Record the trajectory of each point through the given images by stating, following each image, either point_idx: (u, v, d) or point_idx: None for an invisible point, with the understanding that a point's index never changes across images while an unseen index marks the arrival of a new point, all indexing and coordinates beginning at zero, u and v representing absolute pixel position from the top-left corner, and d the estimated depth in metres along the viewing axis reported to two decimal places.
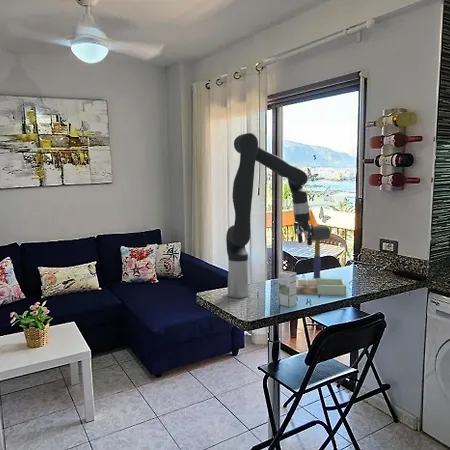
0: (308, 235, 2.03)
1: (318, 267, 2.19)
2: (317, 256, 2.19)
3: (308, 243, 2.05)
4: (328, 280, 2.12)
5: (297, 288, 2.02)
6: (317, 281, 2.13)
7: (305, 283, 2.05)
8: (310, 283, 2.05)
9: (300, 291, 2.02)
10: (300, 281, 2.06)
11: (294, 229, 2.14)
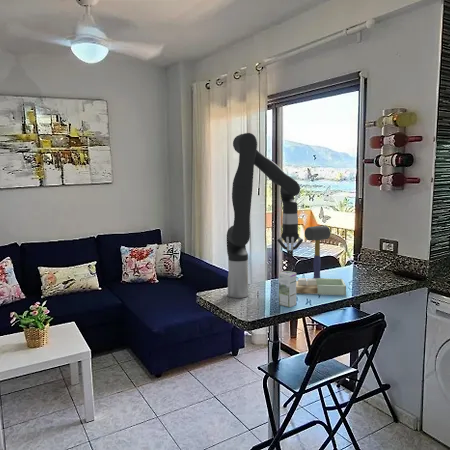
0: (294, 247, 2.05)
1: (318, 267, 2.19)
2: (317, 256, 2.19)
3: (291, 255, 2.06)
4: (328, 280, 2.12)
5: (297, 288, 2.02)
6: (317, 281, 2.13)
7: (305, 283, 2.05)
8: (310, 283, 2.05)
9: (300, 291, 2.02)
10: (300, 281, 2.06)
11: (281, 245, 2.06)
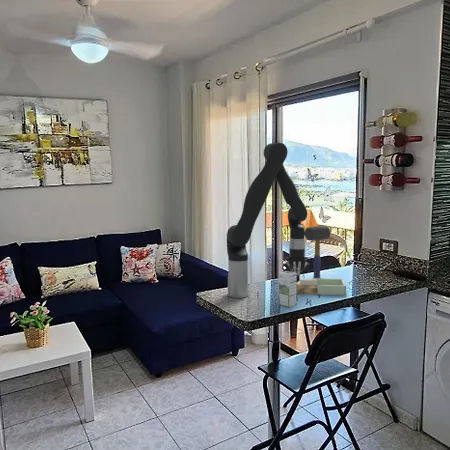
0: (301, 272, 2.06)
1: (318, 267, 2.19)
2: (317, 256, 2.19)
3: (298, 280, 2.07)
4: (328, 280, 2.12)
5: (297, 288, 2.02)
6: (317, 281, 2.13)
7: (307, 283, 2.05)
8: (311, 283, 2.05)
9: (300, 291, 2.02)
10: (302, 281, 2.05)
11: (288, 270, 2.07)
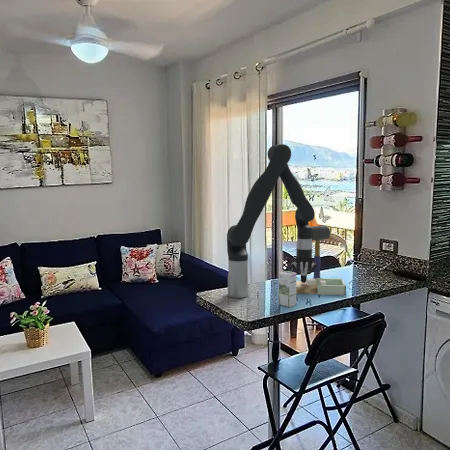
0: (308, 272, 2.05)
1: (318, 267, 2.19)
2: (317, 256, 2.19)
3: (305, 280, 2.06)
4: (328, 280, 2.12)
5: (297, 288, 2.02)
6: (317, 281, 2.13)
7: (314, 283, 2.05)
8: None
9: (300, 291, 2.02)
10: (309, 281, 2.05)
11: (295, 270, 2.06)
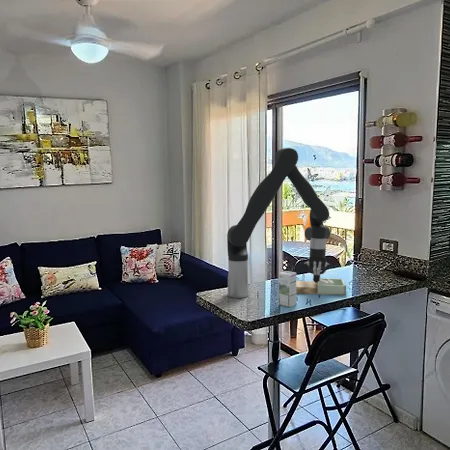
0: (321, 272, 2.05)
1: None
2: None
3: (317, 280, 2.06)
4: None
5: (297, 288, 2.02)
6: None
7: None
8: (329, 284, 2.04)
9: (300, 291, 2.02)
10: (321, 282, 2.04)
11: (308, 270, 2.05)
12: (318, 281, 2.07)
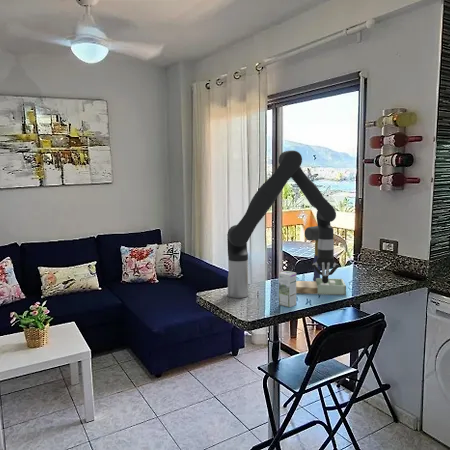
0: (330, 273, 2.04)
1: (318, 267, 2.19)
2: (317, 256, 2.19)
3: (326, 281, 2.05)
4: (328, 280, 2.12)
5: (297, 288, 2.02)
6: (317, 281, 2.13)
7: None
8: None
9: (300, 291, 2.02)
10: None
11: (317, 271, 2.05)
12: None
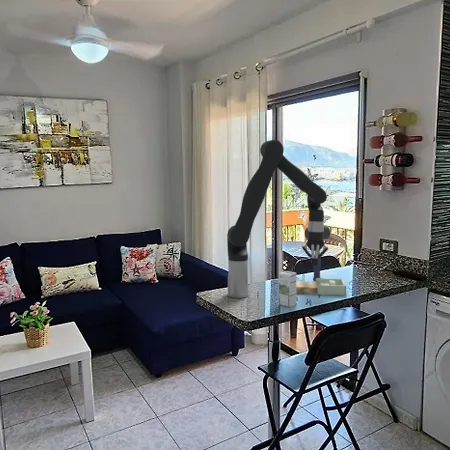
0: (319, 255, 2.04)
1: (318, 267, 2.19)
2: None
3: (316, 263, 2.05)
4: (328, 280, 2.12)
5: (297, 288, 2.02)
6: (317, 281, 2.13)
7: None
8: None
9: (300, 291, 2.02)
10: None
11: (306, 253, 2.05)
12: None
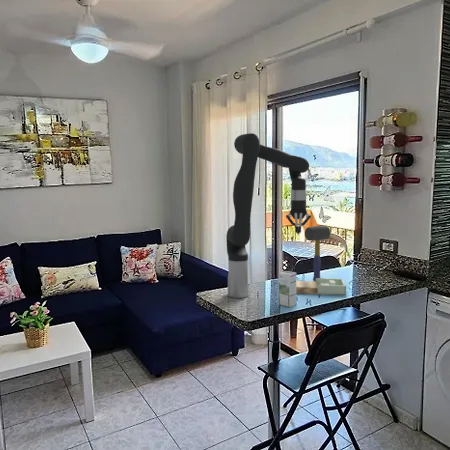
0: (302, 223, 2.10)
1: (318, 267, 2.19)
2: (317, 256, 2.19)
3: (299, 231, 2.11)
4: (328, 280, 2.12)
5: (297, 288, 2.02)
6: (317, 281, 2.13)
7: None
8: None
9: (300, 291, 2.02)
10: None
11: (290, 221, 2.11)
12: None
